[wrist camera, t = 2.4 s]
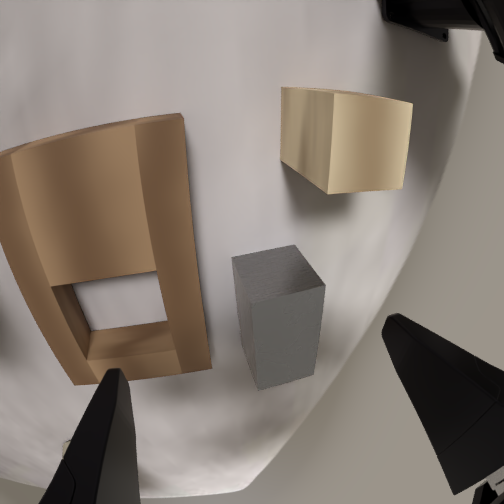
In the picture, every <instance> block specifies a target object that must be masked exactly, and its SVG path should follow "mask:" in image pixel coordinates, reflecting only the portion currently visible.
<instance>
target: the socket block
mask: <svg viewBox="0 0 504 504" xmlns="http://www.w3.org/2000/svg"><path fill="white" fill-rule="evenodd" d="M0 242H1V245H2V248H3V250H4V253H5V256H6V258H7V261H8V263H9V266H10V268H11V270H12V273H13V275H14V277H15V280H16V282H17V284H18V286H19V289H20V291H21V293H22V295H23V297H24V299H25V301H26V303H27V305H28V307H29V309H30V311H31V313H32V315H33V317H34V319H35V321H36V323H37V325H38V327H39V328H40V330H41V332H42V334H43V336H44V337H45V339H46V341H47V343H48V344H49V346H50V348H51V350H52V351H53V353H54V355H55V356H56V358H57V359H58V361H59V363H60V364H61V366H62V367H63V369H64V370H65V372H66V373H67V375H68V377H69V378H70V380H71V381H72V382H73V384H74V385H89V384H100V382H101V380H102V378H103V376H104V374H105V373H106V371H107V370H108V369H110V368H120V369H121V370H122V371H123V373H124V375H125V377H126V379H127V381H132V380H140V379H148V378H156V377H163V376H170V375H177V374H183V373H189V372H195V371H201V370H207V369H212V364H211V358H210V352H209V346H208V339H207V333H206V326H205V319H204V313H203V305H202V298H201V291H200V283H199V276H198V268H197V259H196V251H195V242H194V233H193V224H192V214H191V204H190V193H189V182H188V170H187V158H186V144H185V129H184V118H183V116H182V115H181V113H175V114H166V115H158V116H151V117H144V118H138V119H131V120H125V121H119V122H114V123H109V124H103V125H98V126H93V127H89V128H84V129H80V130H75V131H71V132H67V133H63V134H59V135H55V136H51V137H47V138H44V139H40V140H37V141H33V142H30V143H26V144H23V145H20V146H17V147H14V148H11V149H7V150H5V151H2V152H0ZM156 270H157V275H158V280H159V284H160V289H161V293H162V298H163V302H164V306H165V310H166V314H167V319H168V321H162V322H155V323H149V324H142V325H135V326H127V327H120V328H112V329H104V330H96V331H90V328H89V326H88V324H87V322H86V319H85V317H84V315H83V312H82V310H81V308H80V305H79V303H78V301H77V298H76V296H75V293H74V291H73V288H72V285H71V283H78V282H84V281H91V280H97V279H104V278H111V277H117V276H124V275H130V274H137V273H143V272H150V271H156Z"/></svg>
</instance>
